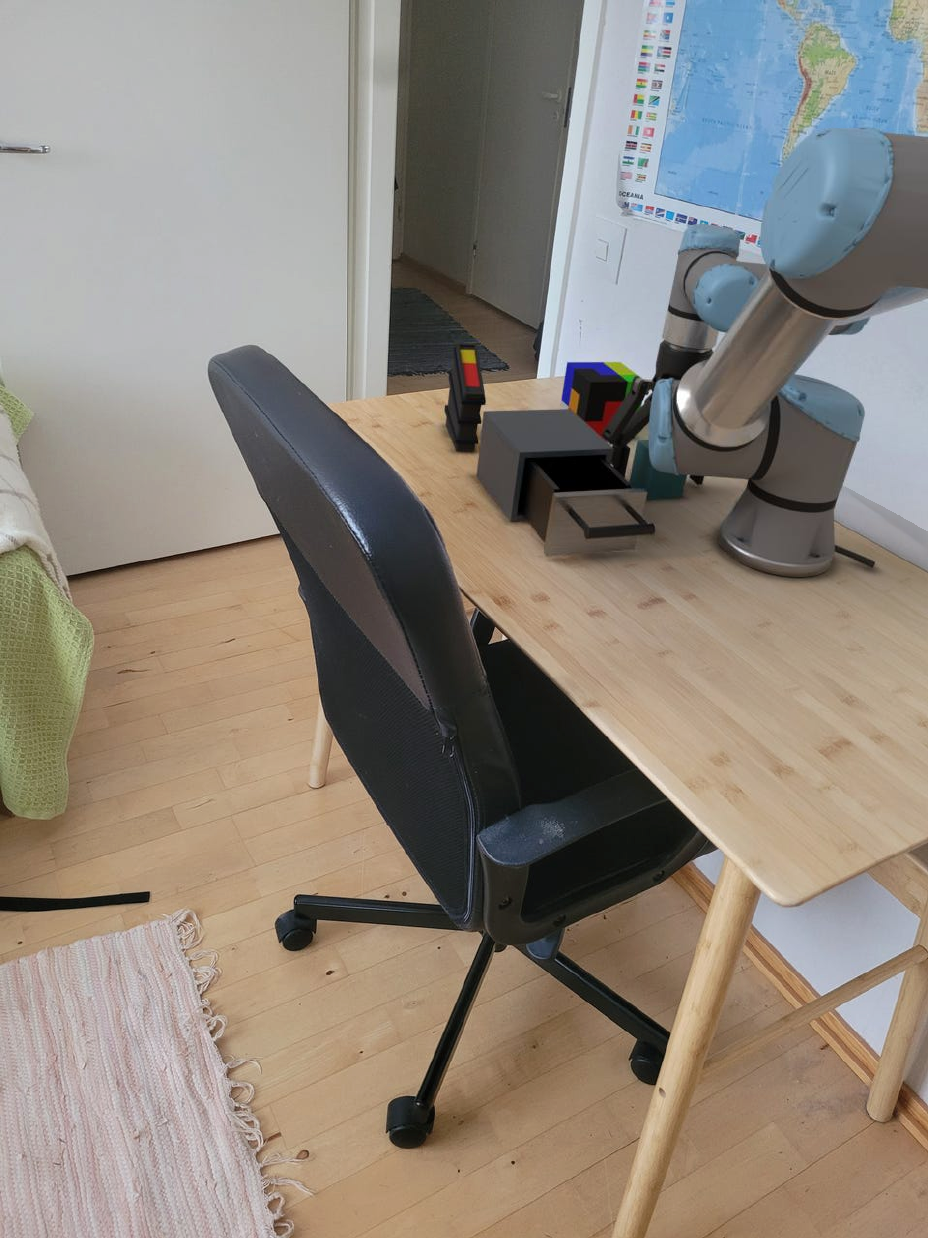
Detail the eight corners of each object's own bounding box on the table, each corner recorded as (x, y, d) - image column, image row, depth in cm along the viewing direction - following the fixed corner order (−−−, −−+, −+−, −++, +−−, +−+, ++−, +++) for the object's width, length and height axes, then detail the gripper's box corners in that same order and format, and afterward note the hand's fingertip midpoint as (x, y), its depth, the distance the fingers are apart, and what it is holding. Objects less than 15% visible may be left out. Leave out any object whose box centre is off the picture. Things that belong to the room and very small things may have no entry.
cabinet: (600, 516, 135) (613, 448, 129) (510, 522, 131) (519, 452, 125) (560, 472, 147) (570, 408, 141) (476, 476, 142) (483, 411, 137)
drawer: (658, 574, 120) (672, 514, 116) (566, 582, 116) (577, 520, 112) (592, 504, 136) (602, 449, 131) (510, 509, 132) (517, 452, 127)
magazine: (462, 410, 161) (478, 342, 148) (472, 470, 154) (489, 404, 141) (441, 409, 160) (454, 341, 147) (449, 470, 153) (464, 403, 141)
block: (663, 480, 148) (672, 438, 144) (682, 497, 143) (692, 454, 139) (628, 482, 146) (637, 439, 142) (646, 499, 141) (656, 455, 137)
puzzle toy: (558, 418, 167) (567, 362, 161) (610, 416, 170) (620, 361, 164) (581, 440, 159) (590, 382, 153) (634, 438, 162) (646, 381, 156)
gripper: (749, 335, 139) (715, 469, 151) (595, 336, 132) (571, 476, 143) (778, 352, 133) (740, 489, 145) (619, 353, 126) (592, 498, 137)
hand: (656, 483), depth 144 cm, fingers open, 13 cm apart
